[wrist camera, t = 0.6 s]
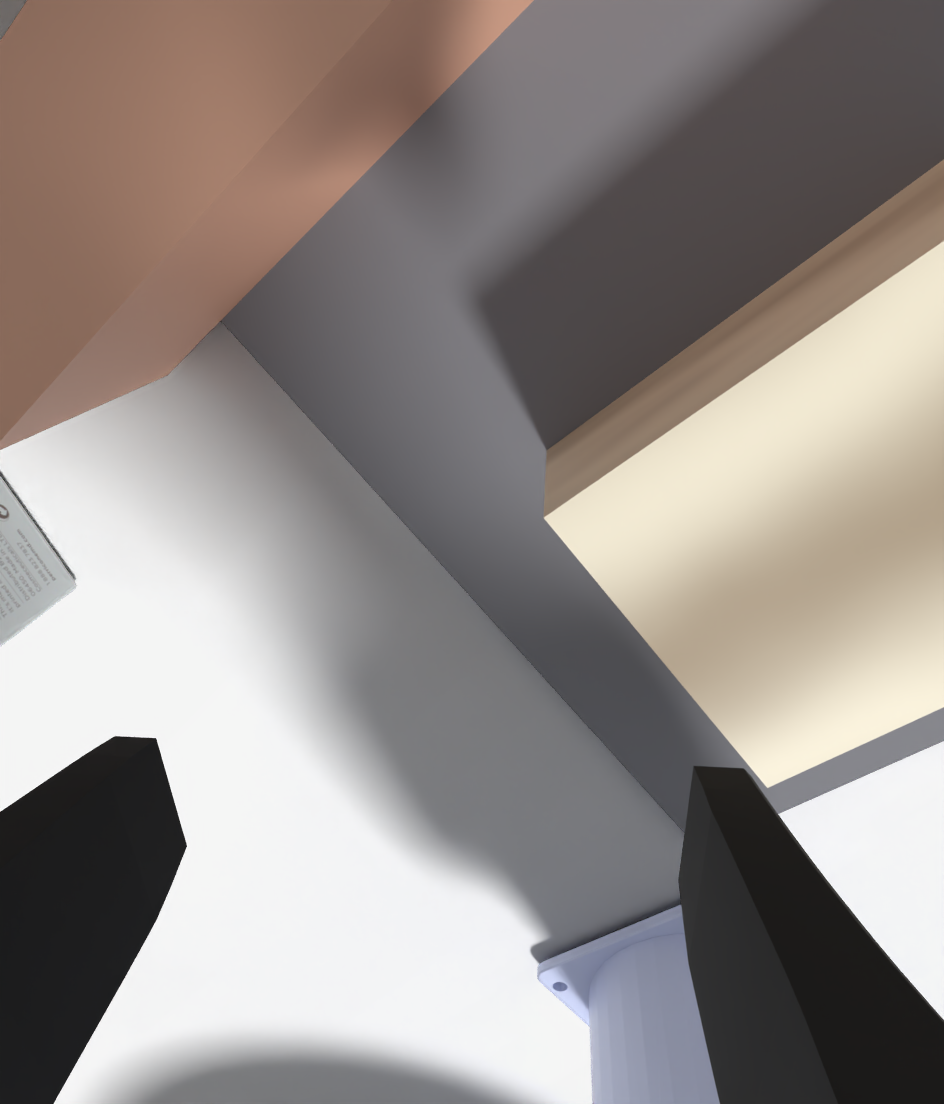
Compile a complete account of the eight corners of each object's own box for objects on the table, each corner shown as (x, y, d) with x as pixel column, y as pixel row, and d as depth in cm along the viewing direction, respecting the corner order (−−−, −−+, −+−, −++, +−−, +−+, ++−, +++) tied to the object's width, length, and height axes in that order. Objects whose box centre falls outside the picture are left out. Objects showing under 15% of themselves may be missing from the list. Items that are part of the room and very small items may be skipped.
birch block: (1139, 459, 15) (1314, 537, 12) (728, 678, 19) (767, 787, 15) (978, 134, 13) (1134, 109, 10) (546, 450, 17) (543, 518, 13)
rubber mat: (1526, 466, 15) (1550, 473, 15) (696, 838, 22) (698, 848, 22) (1036, -1191, 8) (1058, -1255, 8) (56, 128, 15) (45, 127, 15)
